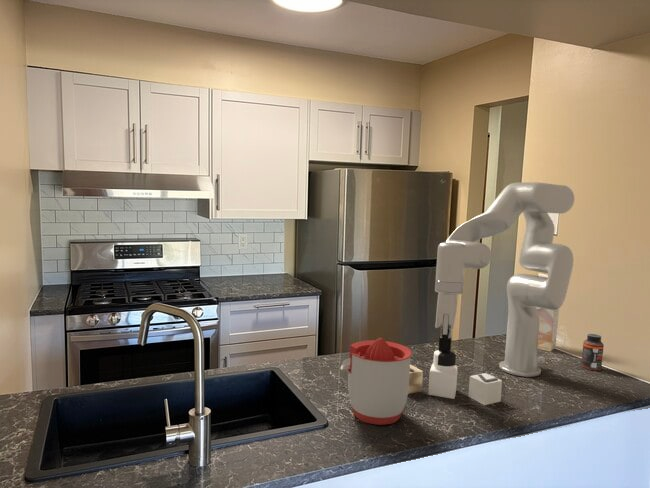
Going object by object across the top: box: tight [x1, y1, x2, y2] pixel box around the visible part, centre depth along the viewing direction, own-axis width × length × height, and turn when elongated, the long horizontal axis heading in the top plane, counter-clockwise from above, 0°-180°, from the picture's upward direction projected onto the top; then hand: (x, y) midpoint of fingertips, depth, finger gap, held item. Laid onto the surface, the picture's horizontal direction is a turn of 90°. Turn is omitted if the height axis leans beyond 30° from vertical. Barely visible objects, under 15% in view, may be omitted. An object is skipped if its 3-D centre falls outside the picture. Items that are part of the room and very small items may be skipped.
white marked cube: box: [468, 372, 503, 406], centre depth 131 cm, size 6×6×6 cm
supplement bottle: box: [581, 333, 605, 372], centre depth 159 cm, size 6×6×11 cm
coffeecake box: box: [535, 306, 560, 353], centre depth 181 cm, size 15×7×20 cm, turn 50°
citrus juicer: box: [340, 337, 413, 426], centre depth 118 cm, size 16×17×20 cm
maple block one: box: [408, 364, 424, 395], centre depth 136 cm, size 6×6×6 cm
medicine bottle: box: [427, 349, 459, 400], centre depth 134 cm, size 7×7×12 cm
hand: (444, 350), depth 134 cm, fingers closed
